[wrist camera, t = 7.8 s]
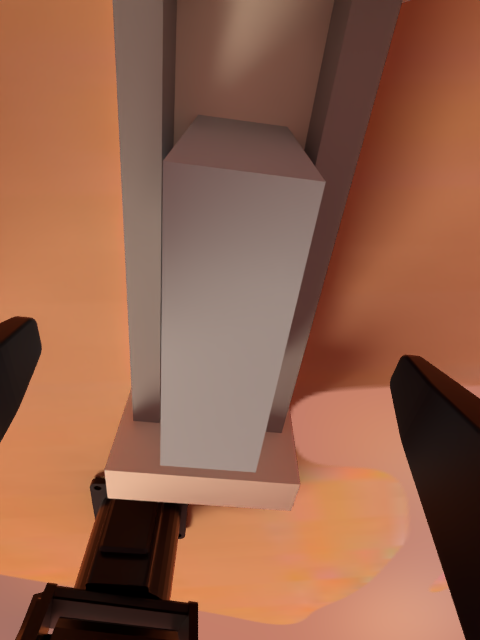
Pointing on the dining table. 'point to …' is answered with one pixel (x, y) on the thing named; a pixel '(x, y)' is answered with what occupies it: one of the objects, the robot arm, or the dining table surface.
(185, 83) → the track
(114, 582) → the robot arm
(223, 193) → the grey rectangular block
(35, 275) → the dining table surface
